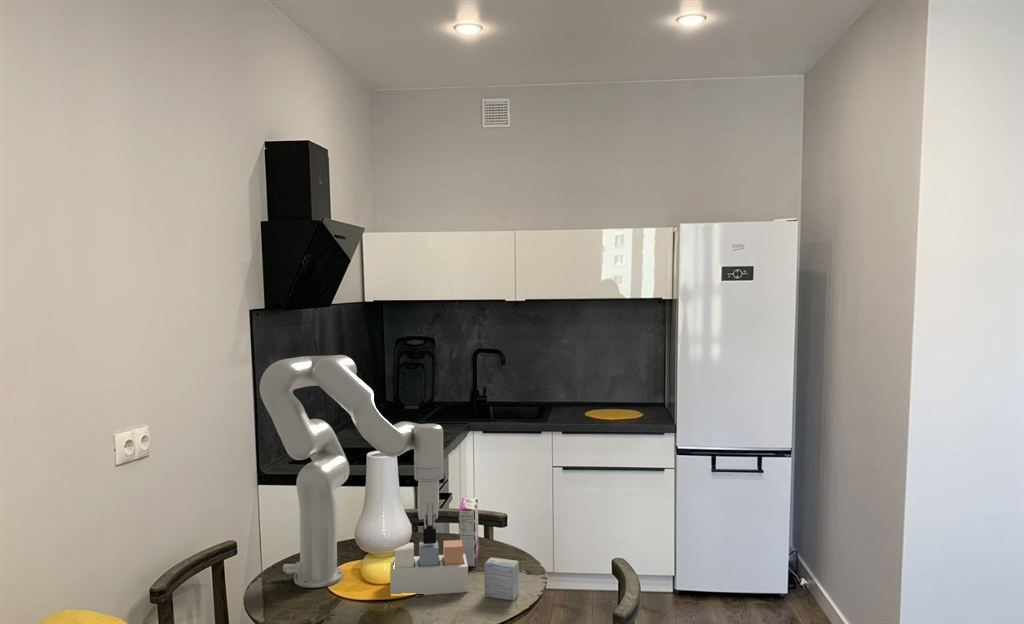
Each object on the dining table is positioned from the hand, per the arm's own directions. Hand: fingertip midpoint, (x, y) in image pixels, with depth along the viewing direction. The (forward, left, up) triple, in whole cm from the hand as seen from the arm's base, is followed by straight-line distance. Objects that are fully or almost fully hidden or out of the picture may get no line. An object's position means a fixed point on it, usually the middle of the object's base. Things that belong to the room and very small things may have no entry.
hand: (429, 542), depth 172 cm
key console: (0, 0, -12) cm, 12 cm away
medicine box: (+18, -8, -12) cm, 23 cm away
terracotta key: (+6, 0, -7) cm, 9 cm away
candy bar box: (+12, +17, -12) cm, 24 cm away
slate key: (0, 0, -7) cm, 7 cm away
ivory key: (-7, 0, -7) cm, 9 cm away
